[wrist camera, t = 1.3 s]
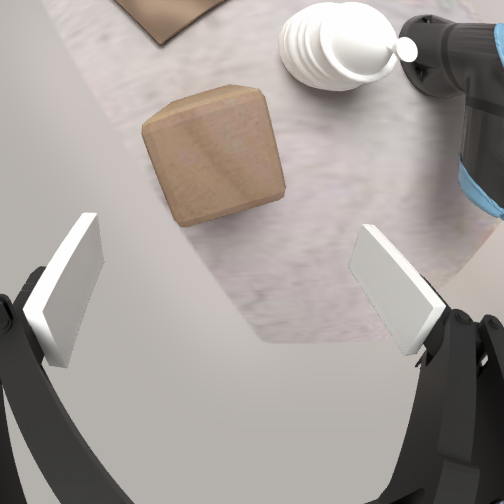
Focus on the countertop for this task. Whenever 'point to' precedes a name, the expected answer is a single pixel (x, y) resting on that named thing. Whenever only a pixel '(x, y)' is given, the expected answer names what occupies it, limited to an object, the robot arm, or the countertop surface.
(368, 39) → the honey pot
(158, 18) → the walnut board
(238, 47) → the countertop surface
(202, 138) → the wooden block
